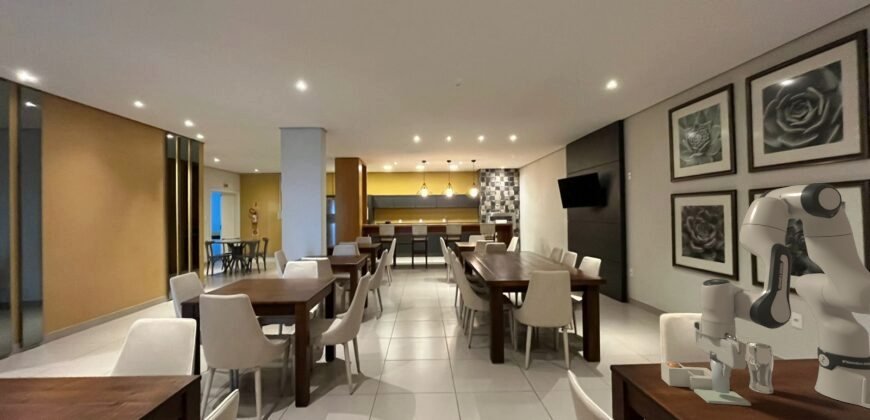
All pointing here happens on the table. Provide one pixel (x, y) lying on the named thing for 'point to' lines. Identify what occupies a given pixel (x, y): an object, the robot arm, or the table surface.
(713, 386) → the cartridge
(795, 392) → the table surface
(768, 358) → the beer glass
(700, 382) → the housing
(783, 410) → the table surface
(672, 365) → the release button
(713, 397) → the mat
